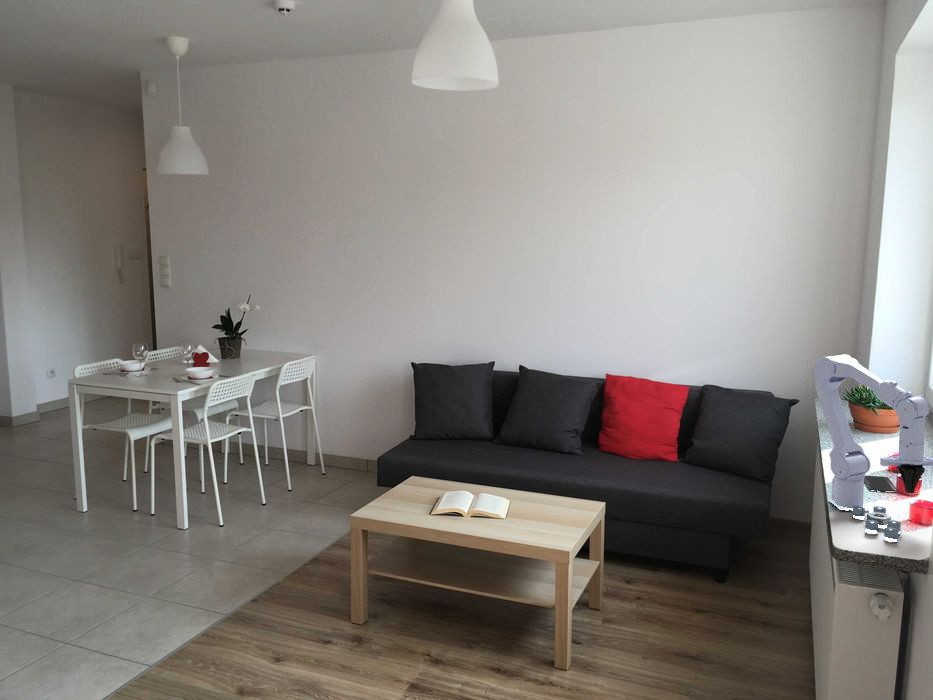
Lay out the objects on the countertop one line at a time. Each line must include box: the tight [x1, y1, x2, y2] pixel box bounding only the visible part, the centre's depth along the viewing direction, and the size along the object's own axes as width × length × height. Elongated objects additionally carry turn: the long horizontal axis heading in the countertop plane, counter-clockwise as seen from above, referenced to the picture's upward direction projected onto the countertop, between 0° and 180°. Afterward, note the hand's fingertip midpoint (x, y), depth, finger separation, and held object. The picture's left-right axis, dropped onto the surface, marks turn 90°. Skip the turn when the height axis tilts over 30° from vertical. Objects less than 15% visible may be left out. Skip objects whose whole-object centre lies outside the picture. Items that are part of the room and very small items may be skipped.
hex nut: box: [866, 511, 892, 525], centre depth 204 cm, size 6×5×3 cm
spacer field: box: [852, 505, 902, 539], centre depth 201 cm, size 20×10×3 cm, turn 174°
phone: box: [864, 475, 897, 492], centre depth 239 cm, size 8×1×15 cm
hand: (909, 492), depth 202 cm, fingers closed
